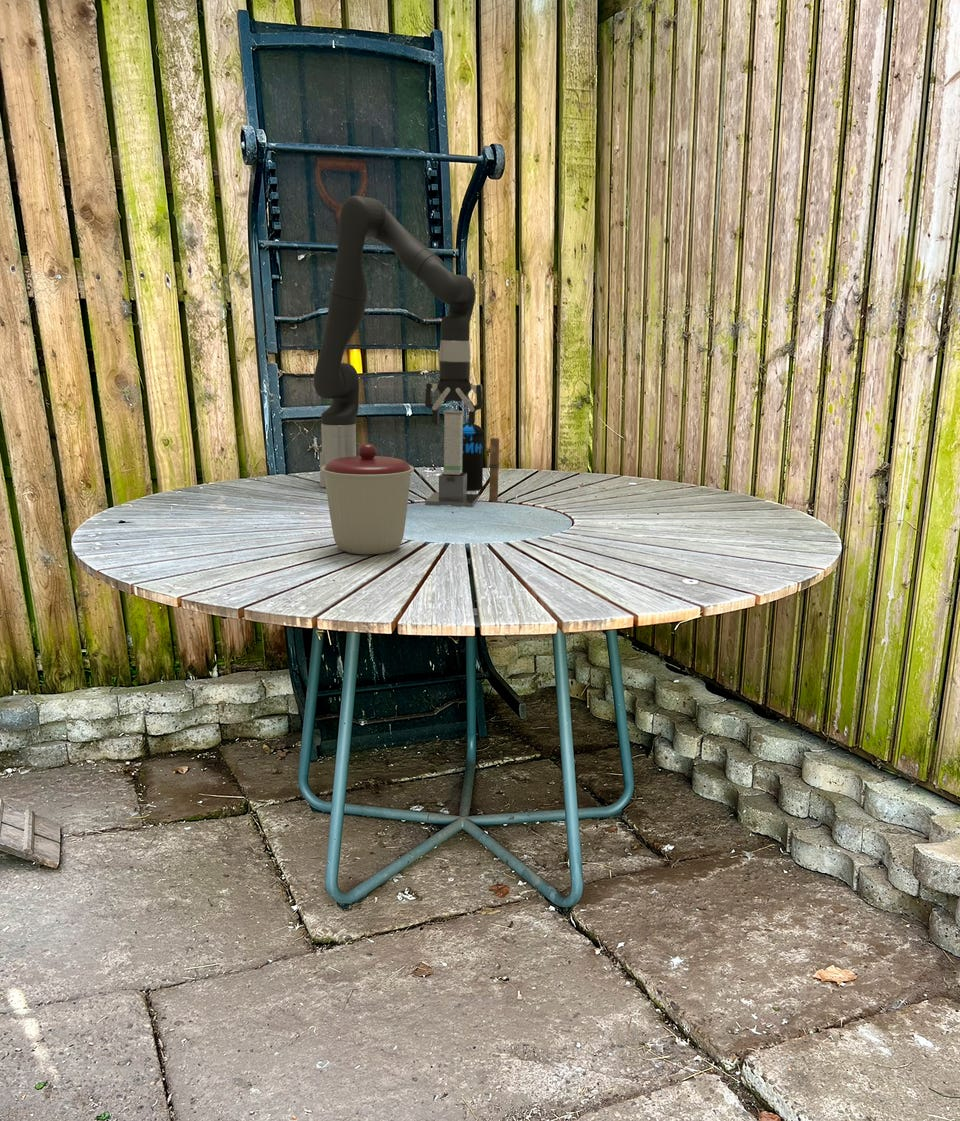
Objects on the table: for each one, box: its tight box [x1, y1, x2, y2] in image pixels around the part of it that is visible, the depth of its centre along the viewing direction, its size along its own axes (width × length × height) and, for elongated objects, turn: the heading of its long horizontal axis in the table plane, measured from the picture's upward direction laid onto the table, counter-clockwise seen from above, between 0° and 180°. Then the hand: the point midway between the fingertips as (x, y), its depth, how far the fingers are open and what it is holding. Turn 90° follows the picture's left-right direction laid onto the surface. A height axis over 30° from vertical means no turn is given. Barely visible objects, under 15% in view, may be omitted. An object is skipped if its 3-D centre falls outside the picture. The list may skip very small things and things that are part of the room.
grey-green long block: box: [442, 409, 465, 475], centre depth 225 cm, size 5×5×16 cm
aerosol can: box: [462, 414, 485, 492], centre depth 245 cm, size 8×8×20 cm
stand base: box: [424, 471, 480, 508], centre depth 228 cm, size 12×12×7 cm
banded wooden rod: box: [488, 437, 500, 502], centre depth 229 cm, size 2×2×16 cm
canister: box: [321, 443, 415, 555], centre depth 176 cm, size 18×18×21 cm
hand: (453, 425), depth 224 cm, fingers open, 8 cm apart
